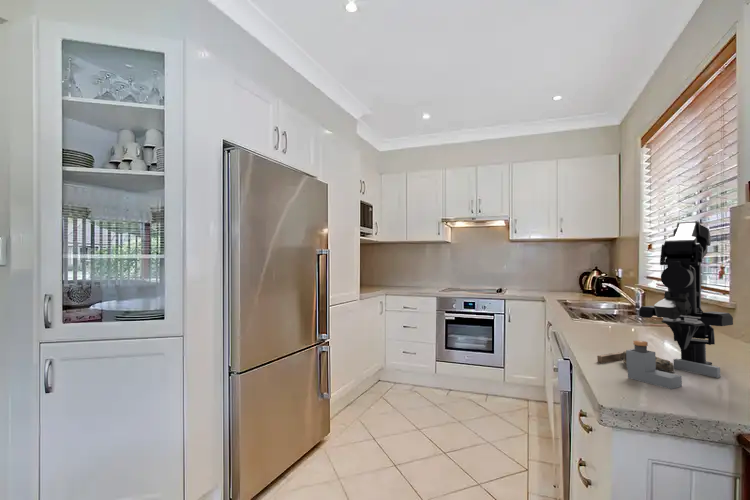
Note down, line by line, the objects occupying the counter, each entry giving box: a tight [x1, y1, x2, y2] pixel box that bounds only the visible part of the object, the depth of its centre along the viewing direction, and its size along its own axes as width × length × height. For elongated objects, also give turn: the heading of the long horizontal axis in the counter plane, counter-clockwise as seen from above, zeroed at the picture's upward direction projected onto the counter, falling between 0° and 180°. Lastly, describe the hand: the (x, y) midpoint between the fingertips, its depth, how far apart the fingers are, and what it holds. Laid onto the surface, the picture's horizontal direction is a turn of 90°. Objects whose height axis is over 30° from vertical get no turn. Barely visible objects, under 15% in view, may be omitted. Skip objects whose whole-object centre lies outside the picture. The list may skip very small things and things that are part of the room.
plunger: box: [633, 340, 648, 353], centre depth 100 cm, size 3×3×6 cm
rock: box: [620, 350, 675, 373], centre depth 110 cm, size 11×12×4 cm
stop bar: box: [596, 351, 623, 364], centre depth 118 cm, size 10×1×2 cm, turn 116°
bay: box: [625, 348, 721, 390], centre depth 101 cm, size 22×10×7 cm, turn 115°
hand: (683, 349), depth 101 cm, fingers closed
